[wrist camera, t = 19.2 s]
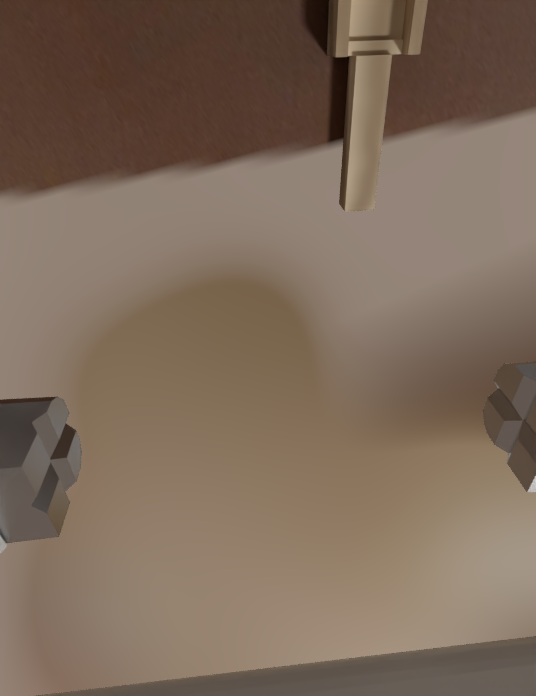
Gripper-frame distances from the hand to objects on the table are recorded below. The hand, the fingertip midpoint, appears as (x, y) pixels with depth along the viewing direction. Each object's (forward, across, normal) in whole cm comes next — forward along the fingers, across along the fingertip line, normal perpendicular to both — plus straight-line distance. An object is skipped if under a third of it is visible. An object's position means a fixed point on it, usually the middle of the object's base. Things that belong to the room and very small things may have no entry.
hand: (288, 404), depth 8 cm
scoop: (+39, +12, +1) cm, 41 cm away
